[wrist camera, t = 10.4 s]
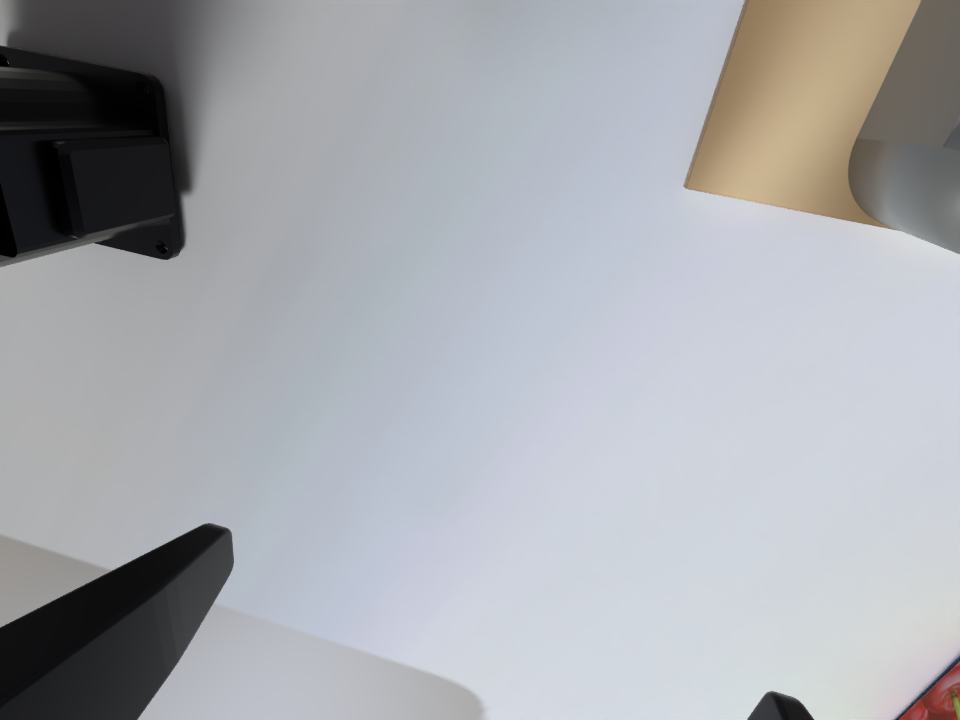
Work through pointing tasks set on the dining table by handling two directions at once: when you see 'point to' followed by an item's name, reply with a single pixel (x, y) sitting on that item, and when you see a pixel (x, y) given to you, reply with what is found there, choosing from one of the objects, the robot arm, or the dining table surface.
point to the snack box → (939, 700)
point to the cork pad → (797, 102)
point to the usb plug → (916, 133)
